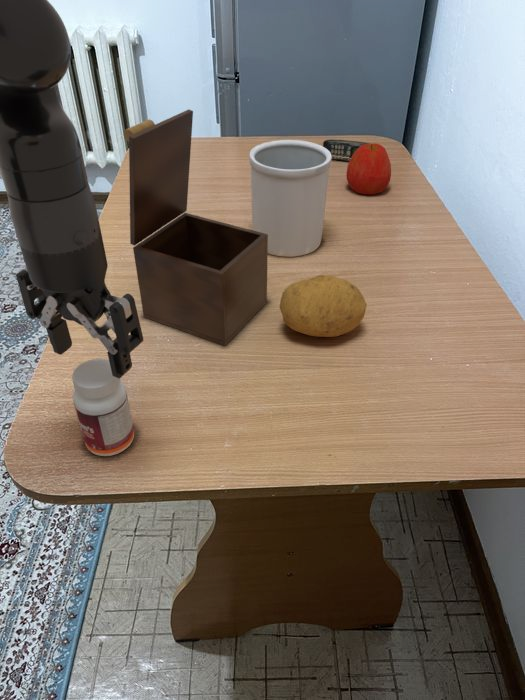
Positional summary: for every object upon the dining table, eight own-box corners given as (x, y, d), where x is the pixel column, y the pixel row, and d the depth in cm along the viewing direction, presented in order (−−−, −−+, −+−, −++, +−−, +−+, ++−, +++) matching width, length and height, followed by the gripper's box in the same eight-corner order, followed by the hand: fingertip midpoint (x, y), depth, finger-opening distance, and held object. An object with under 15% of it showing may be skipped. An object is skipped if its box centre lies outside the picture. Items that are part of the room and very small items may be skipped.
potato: (373, 300, 80) (364, 261, 87) (279, 304, 80) (278, 265, 87) (368, 348, 87) (360, 308, 93) (281, 351, 87) (279, 311, 94)
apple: (364, 176, 138) (369, 133, 132) (398, 189, 133) (405, 144, 126) (336, 188, 133) (340, 143, 126) (370, 202, 127) (376, 155, 121)
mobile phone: (322, 141, 144) (381, 145, 141) (324, 137, 146) (383, 141, 143) (321, 160, 147) (379, 165, 144) (323, 156, 150) (380, 161, 146)
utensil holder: (329, 258, 107) (337, 168, 96) (251, 260, 107) (250, 169, 96) (319, 223, 119) (325, 139, 108) (248, 224, 118) (248, 139, 107)
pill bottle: (76, 437, 72) (57, 370, 65) (119, 414, 75) (104, 348, 68) (100, 466, 68) (82, 399, 61) (144, 441, 71) (132, 374, 64)
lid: (193, 110, 82) (163, 99, 83) (133, 138, 73) (101, 125, 74) (186, 210, 93) (160, 199, 94) (134, 245, 84) (106, 232, 85)
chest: (267, 302, 96) (268, 234, 88) (225, 346, 86) (221, 274, 78) (190, 278, 101) (184, 212, 93) (143, 317, 92) (132, 247, 84)
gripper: (144, 231, 53) (163, 361, 64) (34, 200, 58) (68, 325, 69) (90, 268, 48) (120, 403, 58) (-26, 230, 53) (21, 360, 64)
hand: (92, 361), depth 64 cm, fingers open, 8 cm apart
